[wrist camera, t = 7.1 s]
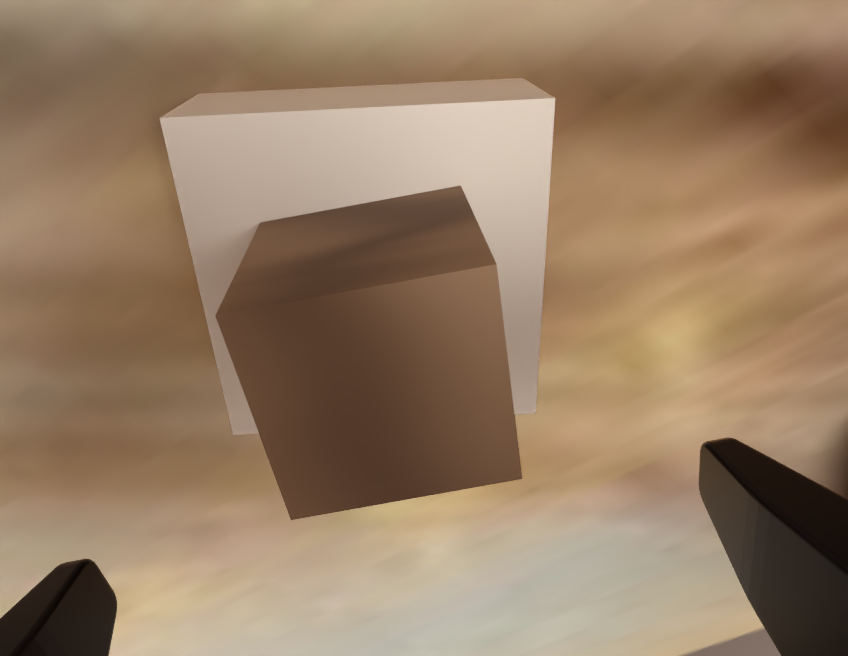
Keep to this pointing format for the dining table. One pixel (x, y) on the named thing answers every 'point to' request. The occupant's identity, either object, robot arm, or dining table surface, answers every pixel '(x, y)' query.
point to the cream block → (368, 183)
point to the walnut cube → (374, 353)
